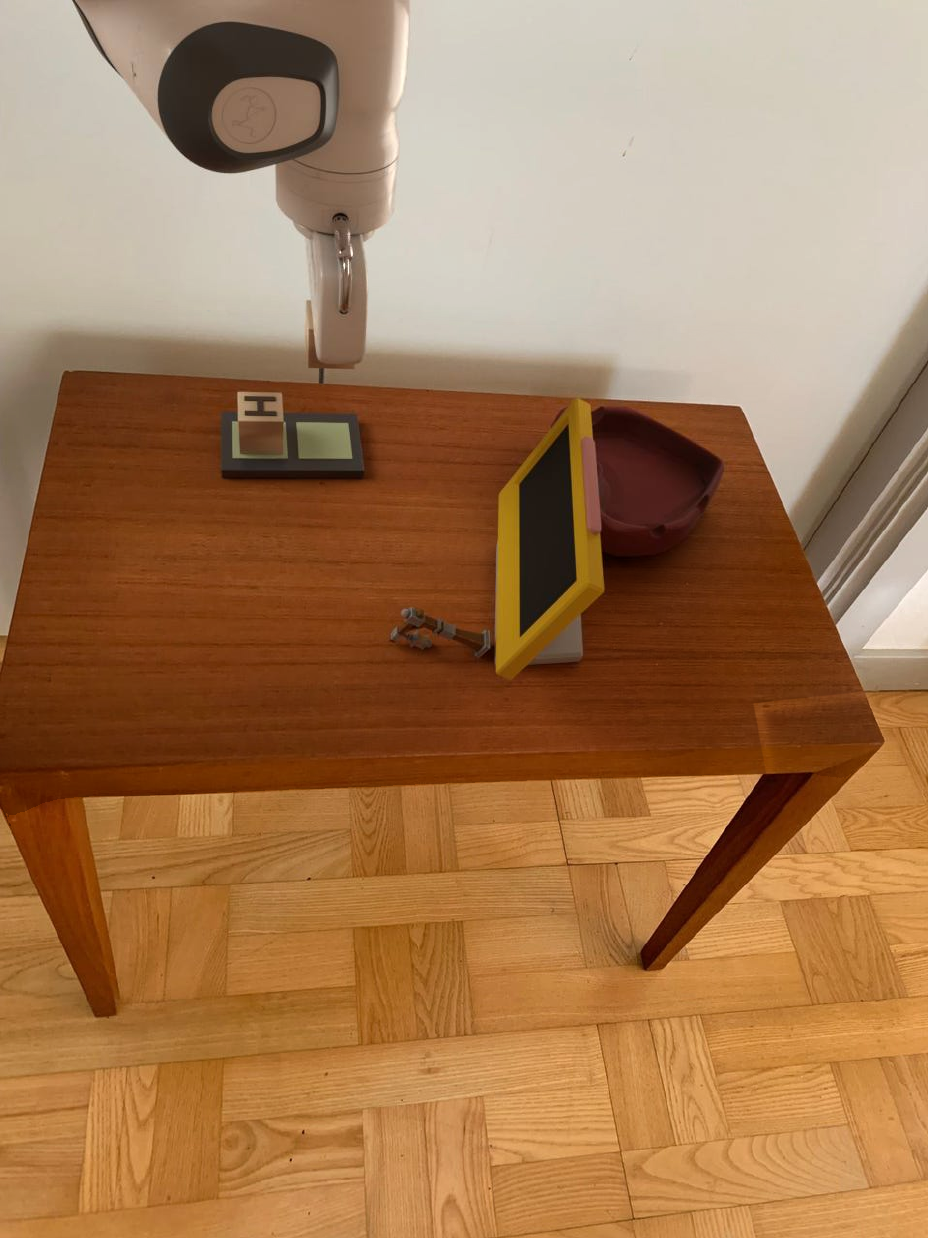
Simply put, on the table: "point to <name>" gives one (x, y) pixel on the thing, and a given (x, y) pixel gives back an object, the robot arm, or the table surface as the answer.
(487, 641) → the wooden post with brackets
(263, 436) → the tile
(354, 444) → the dark grey flat block
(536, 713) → the table surface
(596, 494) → the toy computer monitor
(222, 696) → the table surface
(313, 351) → the tile
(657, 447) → the ashtray
